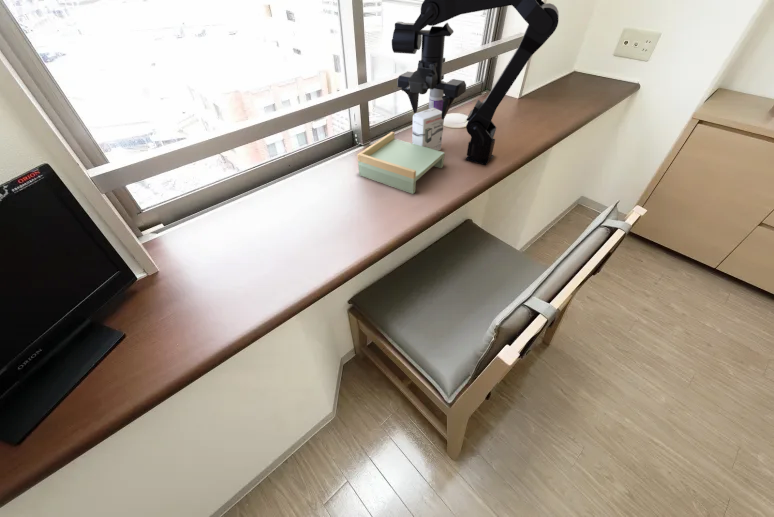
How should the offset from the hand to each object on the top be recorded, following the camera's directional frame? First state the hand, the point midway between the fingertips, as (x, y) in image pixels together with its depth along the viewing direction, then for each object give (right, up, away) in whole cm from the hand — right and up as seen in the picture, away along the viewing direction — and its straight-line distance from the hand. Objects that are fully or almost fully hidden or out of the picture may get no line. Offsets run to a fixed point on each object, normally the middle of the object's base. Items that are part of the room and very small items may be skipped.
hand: (428, 115), depth 99 cm
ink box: (0, -8, +8) cm, 11 cm away
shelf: (-8, -16, -1) cm, 18 cm away
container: (+4, +4, +20) cm, 20 cm away
